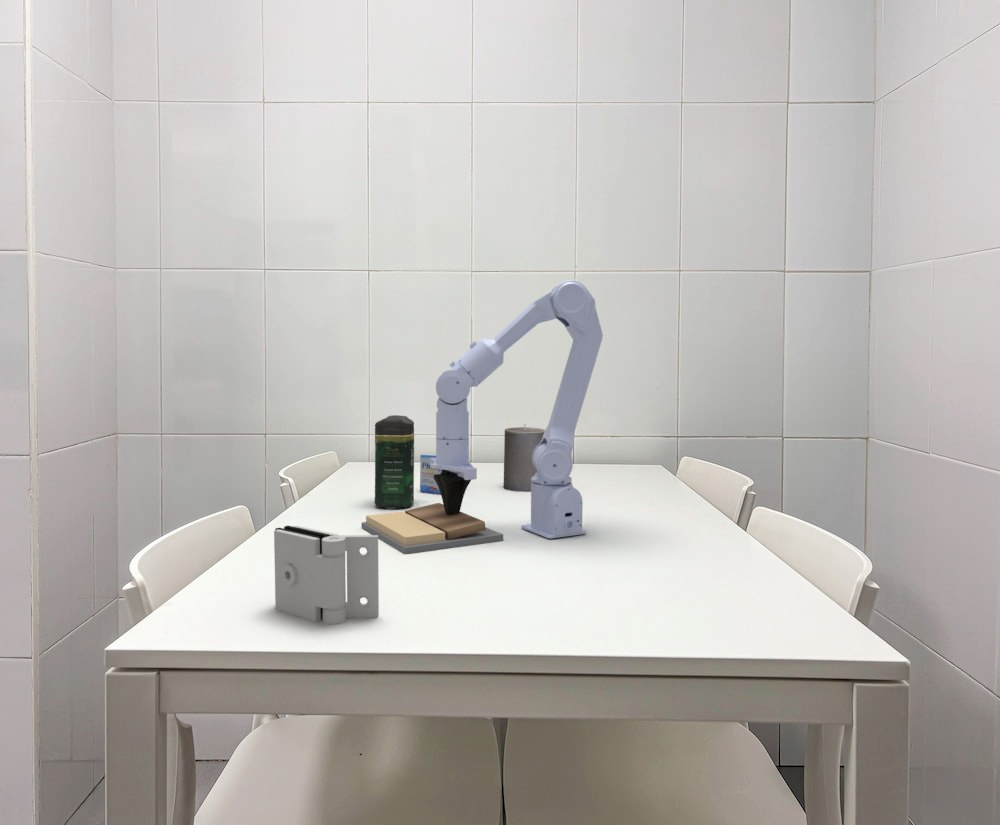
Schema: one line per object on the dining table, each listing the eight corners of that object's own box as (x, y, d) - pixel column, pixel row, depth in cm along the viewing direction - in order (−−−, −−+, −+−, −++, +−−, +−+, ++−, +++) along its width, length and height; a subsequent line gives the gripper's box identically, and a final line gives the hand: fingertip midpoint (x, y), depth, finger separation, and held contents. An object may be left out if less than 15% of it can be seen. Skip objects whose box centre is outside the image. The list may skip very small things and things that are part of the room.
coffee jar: (411, 510, 154) (411, 418, 153) (371, 509, 154) (371, 417, 153) (416, 500, 164) (416, 413, 162) (379, 500, 164) (379, 413, 162)
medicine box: (419, 492, 173) (419, 454, 172) (430, 489, 177) (430, 452, 176) (449, 496, 169) (449, 457, 168) (459, 492, 173) (459, 454, 172)
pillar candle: (496, 485, 182) (497, 422, 180) (533, 482, 186) (534, 421, 185) (514, 493, 173) (515, 427, 172) (552, 490, 177) (553, 425, 176)
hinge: (381, 615, 94) (380, 535, 93) (356, 630, 89) (355, 546, 88) (289, 600, 99) (287, 523, 99) (261, 613, 95) (259, 533, 94)
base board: (503, 540, 131) (503, 526, 130) (405, 554, 122) (404, 539, 121) (451, 517, 148) (451, 505, 148) (361, 527, 139) (361, 514, 139)
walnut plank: (485, 529, 130) (484, 521, 130) (448, 539, 126) (447, 531, 126) (439, 509, 145) (438, 502, 145) (405, 518, 142) (404, 510, 142)
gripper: (415, 434, 140) (415, 508, 141) (450, 444, 127) (450, 524, 128) (449, 432, 143) (449, 504, 144) (487, 441, 131) (487, 520, 132)
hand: (452, 514), depth 137 cm, fingers closed, pressing on walnut plank
